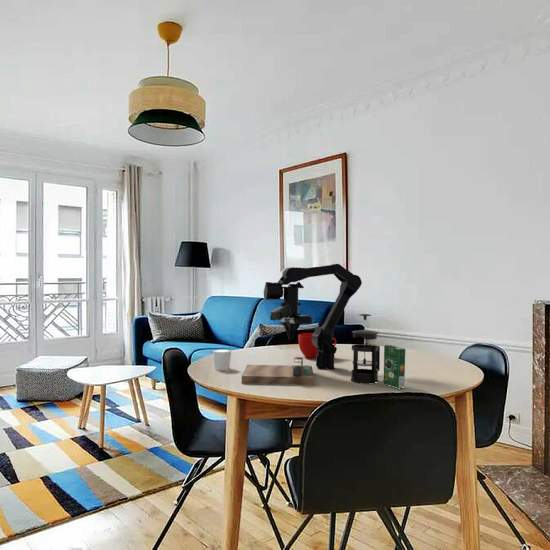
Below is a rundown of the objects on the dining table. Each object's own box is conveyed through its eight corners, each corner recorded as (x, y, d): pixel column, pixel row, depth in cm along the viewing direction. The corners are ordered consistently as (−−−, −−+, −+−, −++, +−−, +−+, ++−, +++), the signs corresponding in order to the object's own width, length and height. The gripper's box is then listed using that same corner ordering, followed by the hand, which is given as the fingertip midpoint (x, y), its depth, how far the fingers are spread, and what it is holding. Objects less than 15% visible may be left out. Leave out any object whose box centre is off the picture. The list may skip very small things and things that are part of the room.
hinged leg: (294, 365, 173) (294, 357, 173) (302, 366, 173) (302, 357, 173) (292, 375, 155) (292, 366, 155) (301, 376, 155) (301, 366, 155)
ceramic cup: (337, 360, 201) (338, 336, 201) (298, 359, 202) (298, 336, 202) (334, 355, 214) (334, 333, 214) (297, 354, 215) (297, 332, 215)
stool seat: (311, 372, 174) (311, 360, 174) (314, 385, 154) (314, 371, 154) (247, 371, 175) (247, 359, 175) (241, 383, 155) (241, 369, 155)
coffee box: (405, 389, 150) (406, 348, 150) (398, 389, 149) (398, 348, 149) (390, 383, 158) (390, 344, 158) (382, 384, 156) (383, 345, 156)
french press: (362, 385, 154) (363, 315, 155) (343, 380, 162) (344, 313, 162) (387, 381, 161) (388, 314, 161) (368, 376, 169) (368, 312, 169)
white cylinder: (216, 371, 175) (216, 352, 175) (210, 368, 181) (210, 349, 181) (233, 369, 178) (234, 351, 178) (227, 366, 184) (227, 348, 184)
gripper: (259, 299, 183) (259, 339, 183) (290, 301, 168) (289, 345, 168) (281, 298, 190) (281, 337, 190) (313, 300, 175) (312, 342, 175)
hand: (290, 340), depth 180 cm, fingers closed
